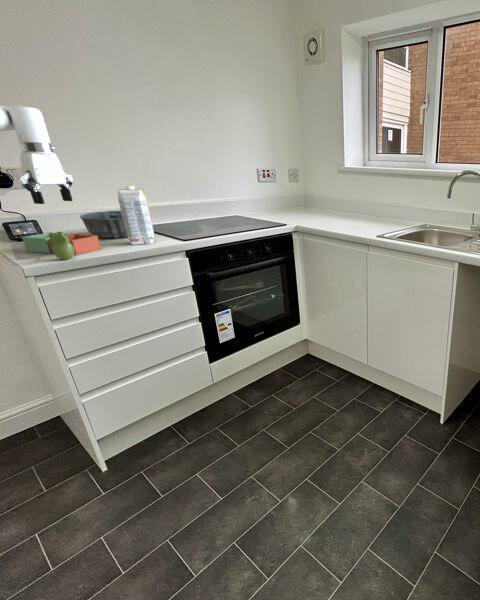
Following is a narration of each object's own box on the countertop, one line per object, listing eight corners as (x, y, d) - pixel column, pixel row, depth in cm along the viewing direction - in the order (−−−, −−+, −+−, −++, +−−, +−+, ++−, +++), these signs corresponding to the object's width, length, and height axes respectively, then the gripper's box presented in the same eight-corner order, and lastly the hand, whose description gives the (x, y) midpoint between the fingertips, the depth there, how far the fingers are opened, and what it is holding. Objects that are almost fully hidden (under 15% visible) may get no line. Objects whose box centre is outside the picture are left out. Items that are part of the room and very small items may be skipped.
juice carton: (156, 240, 160) (144, 185, 151) (155, 244, 154) (142, 187, 145) (131, 242, 156) (117, 185, 147) (128, 245, 149) (113, 187, 140)
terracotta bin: (76, 255, 133) (72, 240, 131) (53, 253, 134) (48, 238, 132) (101, 249, 142) (97, 235, 140) (79, 247, 144) (74, 234, 142)
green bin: (50, 253, 134) (45, 238, 132) (26, 251, 135) (21, 237, 133) (76, 247, 144) (72, 233, 142) (54, 245, 145) (49, 232, 143)
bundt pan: (161, 236, 169) (156, 215, 165) (90, 243, 151) (84, 220, 147) (146, 228, 185) (142, 209, 182) (81, 234, 167) (75, 212, 164)
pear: (79, 257, 131) (70, 230, 127) (73, 260, 126) (64, 233, 122) (60, 258, 129) (51, 230, 125) (53, 261, 124) (43, 233, 120)
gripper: (53, 149, 124) (68, 199, 130) (-4, 147, 108) (16, 204, 114) (73, 150, 123) (87, 200, 129) (18, 148, 107) (37, 205, 113)
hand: (54, 202), depth 122 cm, fingers open, 9 cm apart
